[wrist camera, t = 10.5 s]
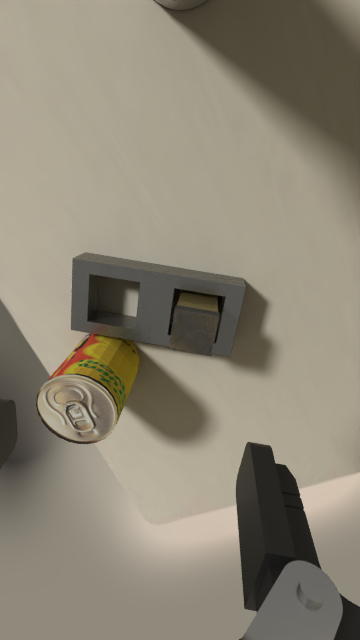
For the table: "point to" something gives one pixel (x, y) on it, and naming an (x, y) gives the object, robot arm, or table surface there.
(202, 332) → the tan banded block
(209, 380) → the table surface
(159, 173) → the table surface
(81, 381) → the beverage can
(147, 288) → the cinder block
